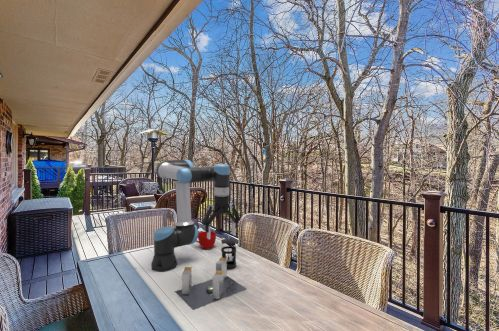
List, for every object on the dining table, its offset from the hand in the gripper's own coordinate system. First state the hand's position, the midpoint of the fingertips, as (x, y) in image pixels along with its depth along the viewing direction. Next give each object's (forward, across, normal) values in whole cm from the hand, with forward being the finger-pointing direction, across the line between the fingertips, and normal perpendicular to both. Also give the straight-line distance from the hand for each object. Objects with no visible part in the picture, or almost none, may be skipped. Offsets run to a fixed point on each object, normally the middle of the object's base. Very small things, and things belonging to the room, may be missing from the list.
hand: (221, 236), depth 141 cm
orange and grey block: (+26, -17, +3) cm, 31 cm away
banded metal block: (+26, -5, -8) cm, 28 cm away
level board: (+27, -6, -2) cm, 28 cm away
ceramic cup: (+29, +14, +61) cm, 69 cm away
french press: (+28, +14, +20) cm, 37 cm away
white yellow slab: (+26, +3, +6) cm, 27 cm away
